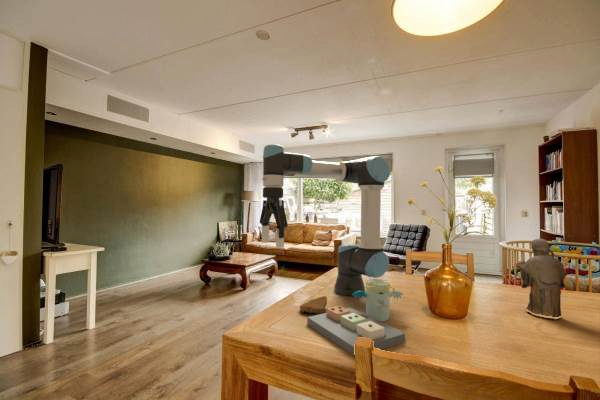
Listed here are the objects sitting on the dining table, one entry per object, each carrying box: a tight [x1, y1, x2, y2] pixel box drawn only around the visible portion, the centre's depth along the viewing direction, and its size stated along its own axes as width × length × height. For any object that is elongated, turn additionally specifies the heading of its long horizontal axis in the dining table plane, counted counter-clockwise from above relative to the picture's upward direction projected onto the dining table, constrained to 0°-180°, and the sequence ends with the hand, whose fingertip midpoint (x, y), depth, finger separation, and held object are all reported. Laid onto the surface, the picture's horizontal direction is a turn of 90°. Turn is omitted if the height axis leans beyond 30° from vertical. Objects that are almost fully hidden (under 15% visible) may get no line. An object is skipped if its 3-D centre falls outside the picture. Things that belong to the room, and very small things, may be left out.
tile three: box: [326, 305, 350, 322], centre depth 104 cm, size 6×6×3 cm
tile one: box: [357, 321, 385, 340], centre depth 90 cm, size 6×6×3 cm
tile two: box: [341, 313, 366, 331], centre depth 97 cm, size 6×6×3 cm
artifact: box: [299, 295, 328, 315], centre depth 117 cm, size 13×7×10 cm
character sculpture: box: [351, 278, 404, 322], centre depth 110 cm, size 20×12×13 cm, turn 92°
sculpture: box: [517, 238, 568, 317], centre depth 116 cm, size 16×11×30 cm
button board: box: [306, 307, 406, 357], centre depth 97 cm, size 20×26×2 cm
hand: (272, 244), depth 107 cm, fingers open, 13 cm apart
